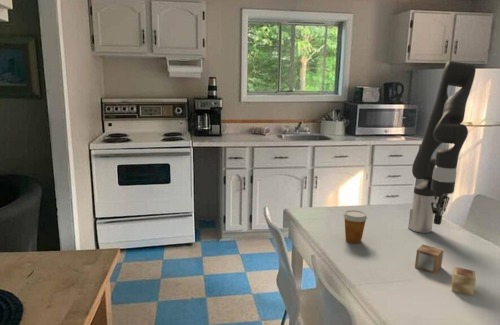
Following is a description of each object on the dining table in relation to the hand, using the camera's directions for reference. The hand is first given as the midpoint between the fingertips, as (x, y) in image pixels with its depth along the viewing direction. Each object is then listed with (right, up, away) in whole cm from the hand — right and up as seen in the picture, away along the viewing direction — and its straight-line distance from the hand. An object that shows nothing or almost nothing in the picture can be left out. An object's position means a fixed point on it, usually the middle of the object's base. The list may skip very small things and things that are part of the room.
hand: (437, 223), depth 139 cm
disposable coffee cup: (-26, -10, +19) cm, 34 cm away
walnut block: (-3, -11, -2) cm, 12 cm away
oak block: (-1, -18, -18) cm, 26 cm away
